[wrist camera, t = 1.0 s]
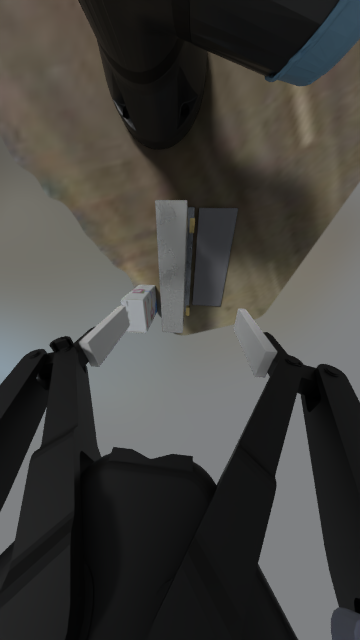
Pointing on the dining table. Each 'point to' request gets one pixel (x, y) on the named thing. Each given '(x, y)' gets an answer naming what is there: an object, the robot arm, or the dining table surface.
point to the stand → (189, 256)
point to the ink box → (140, 308)
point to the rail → (172, 261)
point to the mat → (212, 254)
